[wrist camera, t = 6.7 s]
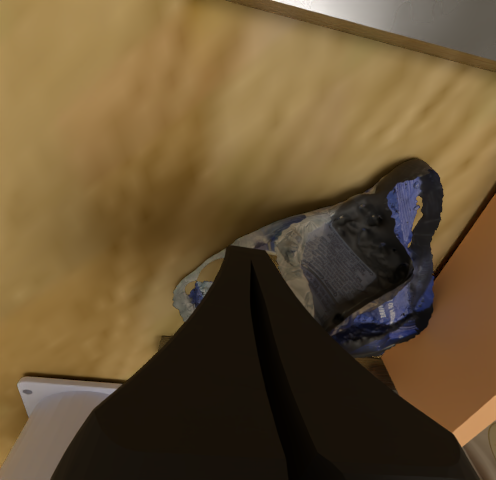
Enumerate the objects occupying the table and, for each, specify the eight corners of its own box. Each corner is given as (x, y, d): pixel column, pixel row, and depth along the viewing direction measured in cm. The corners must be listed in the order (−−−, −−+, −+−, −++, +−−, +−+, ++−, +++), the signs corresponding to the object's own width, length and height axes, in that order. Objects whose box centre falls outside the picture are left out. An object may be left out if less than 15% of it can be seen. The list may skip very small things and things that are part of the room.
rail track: (437, 379, 19) (456, 410, 18) (160, 353, 17) (152, 386, 15) (717, 74, 10) (814, 78, 8) (193, -84, 8) (180, -123, 6)
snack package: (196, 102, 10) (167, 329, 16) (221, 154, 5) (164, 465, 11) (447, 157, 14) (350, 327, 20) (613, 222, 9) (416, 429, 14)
